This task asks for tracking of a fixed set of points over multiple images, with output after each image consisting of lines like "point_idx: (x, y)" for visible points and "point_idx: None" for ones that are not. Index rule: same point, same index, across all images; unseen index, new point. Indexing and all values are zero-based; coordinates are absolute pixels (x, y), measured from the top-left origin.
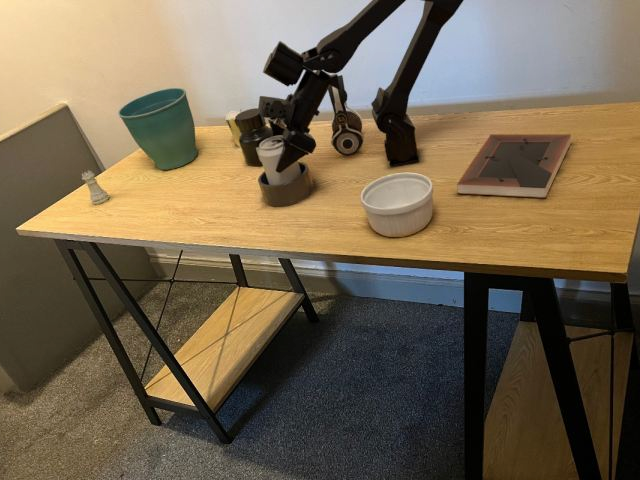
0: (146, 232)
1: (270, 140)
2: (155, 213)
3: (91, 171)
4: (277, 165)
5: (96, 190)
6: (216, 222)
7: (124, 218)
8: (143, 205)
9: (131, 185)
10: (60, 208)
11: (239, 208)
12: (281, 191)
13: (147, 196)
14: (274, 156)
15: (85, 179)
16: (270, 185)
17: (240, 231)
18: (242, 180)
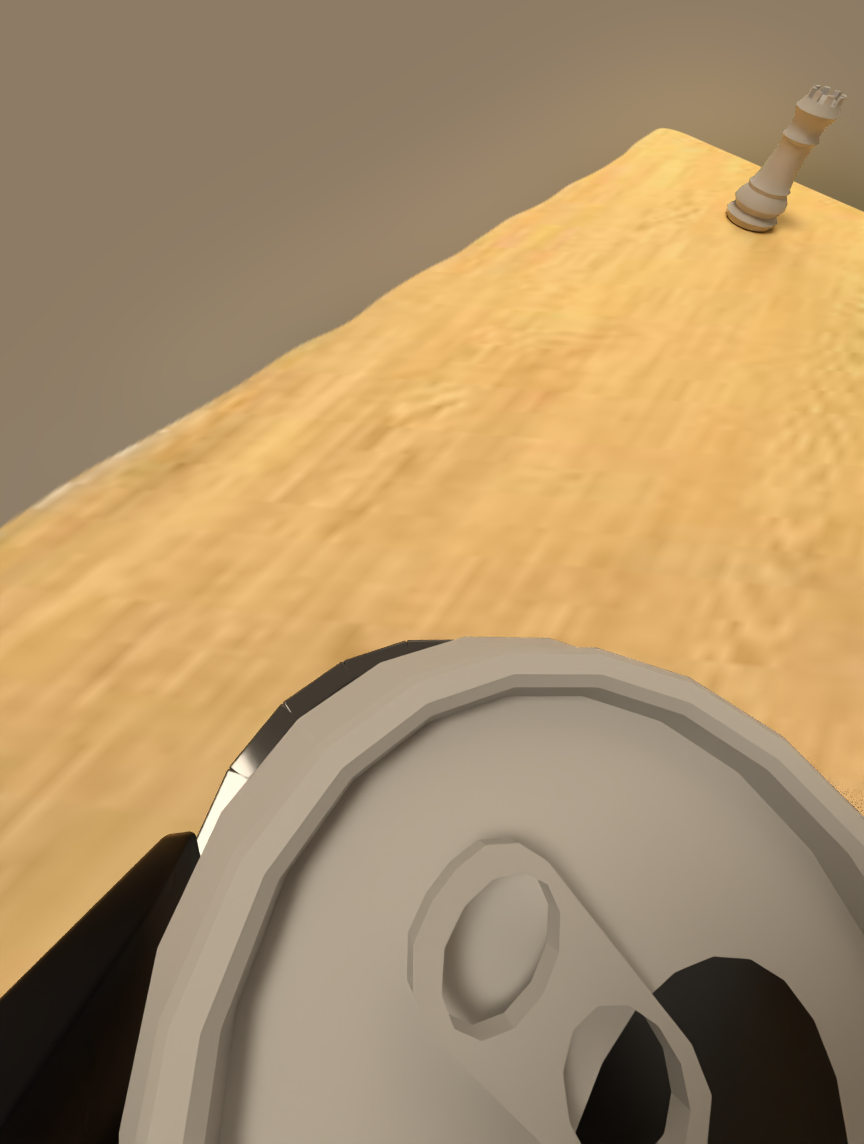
0: (463, 277)
1: (849, 948)
2: (588, 304)
3: (839, 101)
4: (120, 900)
5: (767, 172)
6: (366, 451)
7: (601, 247)
8: (667, 286)
9: (829, 274)
10: (737, 167)
11: (434, 549)
12: None
13: (730, 298)
14: (177, 920)
15: (796, 104)
16: (282, 728)
17: (183, 528)
18: (748, 594)
